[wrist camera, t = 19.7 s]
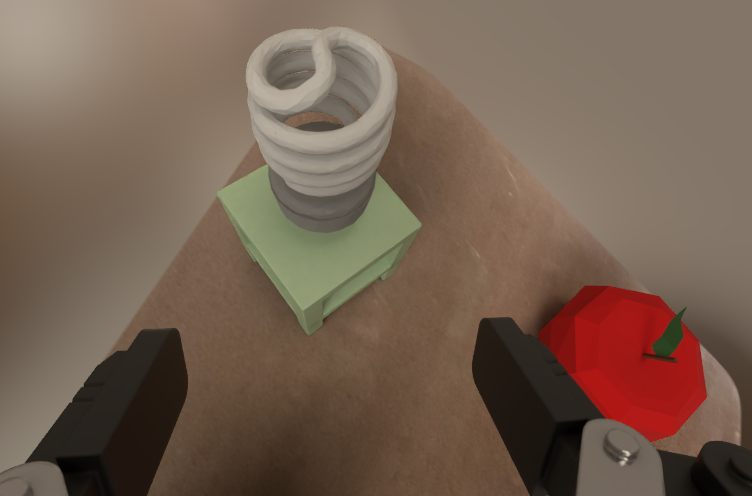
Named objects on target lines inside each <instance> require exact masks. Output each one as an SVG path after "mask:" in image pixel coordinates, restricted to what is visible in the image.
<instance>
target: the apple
mask: <svg viewBox="0 0 752 496" xmlns="http://www.w3.org/2000/svg"><path fill="white" fill-rule="evenodd" d="M685 309H686V308H684V309H683V310H682V311H681V312H680V313H679V314H678V315H676V314H675V313H674V312H673V311H672V310H671V309H670V308H669V307H668V306H667V304H666V303H665V302H664V301H663V300H662V299H661V298H660V297H659V296H655V295H650V294H646V293H641V292H636V291H631V290H626V289H621V288H616V287H611V286H584V287H583V288H582V289H581V290H580V291H579V292H578V293H577V294H576V296H575V297H574V298H573V299H572V300H571V301H570V302H569V303H568V304H567V305H566V306H565V307H564V308H563V309H562V310H561V311H560V312H559V313H558V314H557V315H556V316H555V317H554V318H553V319H552V320H551V321H550V322H549V323H548V324H547V325H545V326H544V327H543V328H542V329H541V330H540V331H539V341H540V342H542V343H543V344H544V345H546V346H547V347H548V348H549V350H550V351H551V352H552V353H553V354H554V356H555V357H556V358H557V359H558V363H561V364H562V365H563V367H564V368H565V369H566V370H567V372H568V375H571V376H572V378H573V379H574V380H575V381H576V383H577V384H578V385H579V386H580V387H581V389H582V390H583V391H584V392H585V394H586V395H587V396H588V397H589V399H590V400H591V401H592V402H593V403H594V405H595V406H596V407H597V408H598V410H599V411H600V412H601V413H602V414H603V416H604V417H605V418H606V419H610V420H615V421H618V422H621V423H623V424H625V425H628V426H629V427H631V428H633V429H635V430H636V431H638V432H639V433H640V434H642V435H643V436H644V437H645V438H646V439H648V440H649V441H650V442H653V441H656V440H659V439H662V438H665V437H668V436H672V435H674V434H675V433H676V432H677V431H678V430H679V429H680V427H681V426H682V425H683V424H684V423H685V422H686V421H687V420H688V418H689V417H690V416H691V415H692V414H693V413H694V412H695V411H696V409H697V408H698V407H699V406H700V405H701V404H702V403H703V401H704V400H705V399H706V398H707V394H706V387H705V380H704V373H703V366H702V358H701V351H700V344H699V340H698V339H697V338H696V337H695V335H694V334H693V333H692V332H691V331H690V330H689V329H688V328H687V327H686V326H685V324H684V323H683V322H682V321H681V317H682V315H683V313H684V311H685Z"/></svg>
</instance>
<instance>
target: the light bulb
mask: <svg viewBox="0 0 752 496" xmlns="http://www.w3.org/2000/svg"><path fill="white" fill-rule="evenodd" d="M308 49H311V51H297V52H293V53H289V52H292V51H295V50H308ZM286 53H288V54H286ZM332 53H335V54H338V55H340V56H342V57H344V58H346V59H344V58H342V57H340V56H337V55H334V54H332ZM283 54H284V55H283ZM281 55H282V56H281ZM347 59H348V60H347ZM305 70H309V71H316V72H303V73H296V74H292V73H295V72H300V71H305ZM289 74H291V75H289ZM286 75H288V76H286ZM336 75H337V76H339V77H341V78H343V79H341V78H339V77H337V76H336ZM344 79H345V80H344ZM346 80H347V81H346ZM348 81H349V82H348ZM246 83H247V86H248V89H249V92H248V101H247V103H248V107H249V112H250V115H251V121H252V129H253V134H254V136H255V138H256V140H257V142H258V144H259V149H260V151H261V153H262V155H263V157H264V159H265V161H266V162H267V163H268V170H269V171H268V177H269V181H270V186H271V190H272V192H273V194H274V196H275V198H276V200H277V203H278V205H279V207H280V209H281V211H282V212H283V214H284V215H285V217H286V218H287V219H289V220H290V221H291V222H293V223H294V224H295V225H297V226H298V227H300V228H302V229H305V230H307V231H311V232H319V233H330V232H335V231H339V230H341V229H344V228H346V227H348V226H350V225H352V224H353V223H354V222H355V221H356V220H357V219H358V218H359V217H360V216H361V215H362V214H363V213H364V211H365V209H366V206H367V204H368V202H369V200H370V197H371V195H372V193H373V191H374V189H375V180H376V168H377V167H378V165H379V164H380V161H381V158H382V157H383V155H384V153H385V151H386V149H387V147H388V144H389V141H390V138H391V132H392V125H393V121H394V118H395V114H396V110H395V102H396V97H397V91H398V87H397V72H396V69H395V66H394V63H393V61H392V58H391V57H390V56H389V54H388V53H387V52H386V51H385V50H384V49H383V48H382V47H381V46H380V45H379V44H378V43H377V42H376V41H375V40H374V39H372V38H370V37H369V36H367V35H365V34H364V33H362V32H360V31H358V30H354V29H351V28H347V27H329V28H327V29H325V30H318V29H309V28H307V29H291V30H288V31H284V32H281V33H278V34H275V35H274V36H272V37H269V38H268V39H266V40H265V41H264V42H263V43H262V44H260V45H259V46H258V47H257V48H256V49H255V51H254V52H253V53H252V55H251V57H250V59H249V61H248V64H247V67H246ZM328 93H329V94H331V95H334V96H337V97H339V98H341V99H343V100H345V101H347V102H348V103H349V104H350V105H352V106H353V107H354V108H355V109H356V110H357V111H358V113H359V114H360V115H361V118H360V119H358V120H357V117H356V114H355V113H354V111H353V110H352V109H351V108H350V106H349V105H347V104H346V103H345V102H344V101H342V100H340V99H338V98H335V97H331V96H328ZM305 112H322V113H326V114H329V115H332V116H335V117H336V118H338V119H339V120H340V121H341V122H342V123H343V125H344V126H342V125H340V124H335V123H330V122H311V123H307V124H303V125H300V126H297V127H295V128H293V127H291V126H288V125H286V124H285V123H284V122H285V121H286V120H287V119H288V118H290V117H292V116H294V115H296V114H300V113H305Z"/></svg>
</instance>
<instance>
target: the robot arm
mask: <svg viewBox="0 0 752 496" xmlns="http://www.w3.org/2000/svg"><path fill="white" fill-rule="evenodd" d="M472 373H473V378H474V382H475V384H476V387H477V389H478V391H479V393H480V395H481V397H482V399H483V401H484V403H485V405H486V407H487V409H488V411H489V413H490V415H491V417H492V419H493V421H494V423H495V425H496V427H497V429H498V431H499V433H500V435H501V437H502V439H503V441H504V444H505V446H506V448H507V450H508V452H509V454H510V456H511V458H512V460H513V462H514V464H515V466H516V468H517V470H518V472H519V474H520V476H521V478H522V480H523V482H524V484H525V486H526V488H527V490H528V492H529V494H530V496H545V495H549V496H752V452H751V451H750V450H747V449H745V448H743V447H741V446H738V445H735V444H732V443H728V442H723V441H710V442H708V443H706V444H704V445H703V447H702V449H701V451H700V452H699V454H698V456H697V458H696V457H692V456H687V455H682V454H677V453H672V452H667V451H662V450H657V449H655V447H654V446H653V445H652V444H651V442H650V441H649V440H648V439H646V438H645V437H644V436H643V435H642V434H640V433H639V432H638V431H636V430H635V429H633V428H631V427H629V426H628V425H625V424H623V423H621V422H618V421H615V420H610V419H606V418H605V417H604V416H603V414H602V413H601V412H600V411H599V410H598V408H597V407H596V406H595V405H594V403H593V402H592V401H591V400H590V399H589V397H588V396H587V395H586V394H585V392H584V391H583V390H582V389H581V387H580V386H579V385H578V384H577V383H576V381H575V380H574V379H573V378H572V376H571V375H568V372H567V370H566V369H565V368H564V367H563V365H562V364H561V363H558V359H557V358H556V357H555V356H554V354H553V353H552V352H551V351H550V350H549V348H548V347H547V346H546V345H544V344H543V343H542V342H540V341H539V340H537V339H536V338H534V337H533V336H531V335H524V333H523V332H522V331H521V329H520V328H519V327H518V326H517V324H516V323H515V322H514V320H513V319H512V318H510V317H500V318H483V319H482V320H481V321H480V324H479V329H478V334H477V339H476V345H475V350H474V355H473V361H472ZM187 389H188V375H187V369H186V364H185V359H184V354H183V349H182V343H181V338H180V334H179V331H178V330H177V329H176V328H166V329H143V330H142V331H140V333H139V334H138V335H137V337H136V338H135V340H134V341H133V343H132V344H131V346H130V347H129V349H128V350H127V351H117V352H115V353H114V354H113V355H111V356H110V357H109V358H107V359H106V360H105V361H103V362H102V363H101V364H99V365H98V366H97V367H96V368H95V370H94V371H93V372H92V374H91V375H90V376H89V378H88V379H87V380H86V382H85V383H84V387H82V388H80V390H79V391H78V392H77V394H76V395H75V396H74V398H73V401H72V403H69V404H68V406H67V407H66V409H65V410H64V411H63V412H62V414H61V415H60V417H59V418H58V419H57V420H56V422H55V423H54V424H53V426H52V427H51V428H50V430H49V431H48V433H47V434H46V435H45V437H44V438H43V439H42V441H41V442H40V443H39V445H38V446H37V447H36V449H35V450H34V451H33V453H32V454H31V455H30V457H29V458H28V459H27V461H26V462H25V463H24V464H21V465H18V466H15V467H12V468H10V469H8V470H5V471H3V472H1V473H0V496H147V494H148V491H149V489H150V486H151V484H152V481H153V479H154V476H155V474H156V471H157V469H158V466H159V464H160V461H161V459H162V457H163V454H164V452H165V449H166V447H167V444H168V442H169V439H170V437H171V434H172V432H173V429H174V427H175V424H176V422H177V419H178V417H179V414H180V412H181V409H182V407H183V405H184V402H185V399H186V395H187Z"/></svg>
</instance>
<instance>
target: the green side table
mask: <svg viewBox="0 0 752 496" xmlns="http://www.w3.org/2000/svg"><path fill="white" fill-rule="evenodd" d="M268 171H269V170H268V164H266V165H264V166H263V167H261V168H259V169H257V170H255V171H254V172H252V173H250V174H248V175H246V176H245V177H243V178H241V179H239V180H237V181H236V182H234V183H232V184H230V185H228V186H227V187H225V188H223V189H221V190H219V191H218V192H217V195H218V197H219V199H220V201H221V203H222V205H223V207H224V209H225V211H226V212H227V214H228V216H229V218H230V220H231V222H232V224H233V226H234V228H235V230H236V232H237V233H238V235H239V237H240V239H241V241H242V243H243V245H244V247H245V249H246V250H247V252H248V253H249V255H250V256H251V257H252V259H253V260H254V262H256V261H257V262H258V263H259V265H260V266H261V267H262V269H263V270H264V271H265V273H266V274H267V276H268V277H269V278H270V280H271V281H272V283H273V284H274V285H275V287H276V288H277V289H278V291H279V292H280V294H281V295H282V296H283V298H284V299H285V300H286V302H287V303H288V305H289V306H290V307H291V309H292V310H293V311H294V313H295V314H296V316H297V318H298V321H299V324H300V325H301V326H302V328H303V329H304V331H305V332H306V333H307V335H308V336H310V335H311V334H313V333H314V332H315V331H317V330H318V329H319V328H321V327H322V326H323V319H324V318H325V317H326V316H328V315H329V314H330V313H332V312H333V311H334V310H336V309H337V308H338V307H340V306H341V305H342V304H344V303H345V302H347V301H348V300H349V299H351V298H352V297H353V296H355V295H356V294H357V293H359V292H360V291H361V290H363V289H364V288H366V287H367V286H368V285H370V284H371V283H372V282H374V281H375V280H376V279H378V278H379V277H380V278H381V279H382V280H385V279H386V278H388V277H389V276H390V275H392V274H393V273H394V272H395V271H396V269H397V268H398V266H399V264H400V262H401V261H402V259H403V257H404V256H405V254H406V252H407V250H408V249H409V247H410V245H411V244H412V242H413V240H414V239H415V237H416V235H417V233H418V232H419V230H420V228H421V227H422V224H421V223H420V221H419V220H418V219H417V218H416V217H415V216H414V214H413V213H412V212H411V211H410V210H409V209H408V207H407V206H406V205H405V204H404V203H403V202H402V200H401V199H400V198H399V197H398V196H397V195H396V193H395V192H394V191H393V190H392V189H391V188H390V186H389V185H388V184H387V183H386V182H385V181H384V179H383V178H382V177H381V176H380V175H379V174H378V172H377V171H376V180H375V189H374V191H373V193H372V195H371V197H370V200H369V202H368V204H367V206H366V209H365V211H364V213H363V214H362V215H361V216H360V217H359V218H358V219H357V220H356V221H355V222H354V223H353V224H352V225H350V226H348V227H346V228H344V229H341V230H339V231H335V232H330V233H319V232H311V231H307V230H305V229H302V228H300V227H298V226H297V225H295V224H294V223H293V222H291V221H290V220H289V219H287V218H286V217H285V215H284V214H283V212H282V211H281V209H280V207H279V205H278V203H277V200H276V198H275V196H274V194H273V192H272V190H271V186H270V181H269V177H268Z"/></svg>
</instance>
